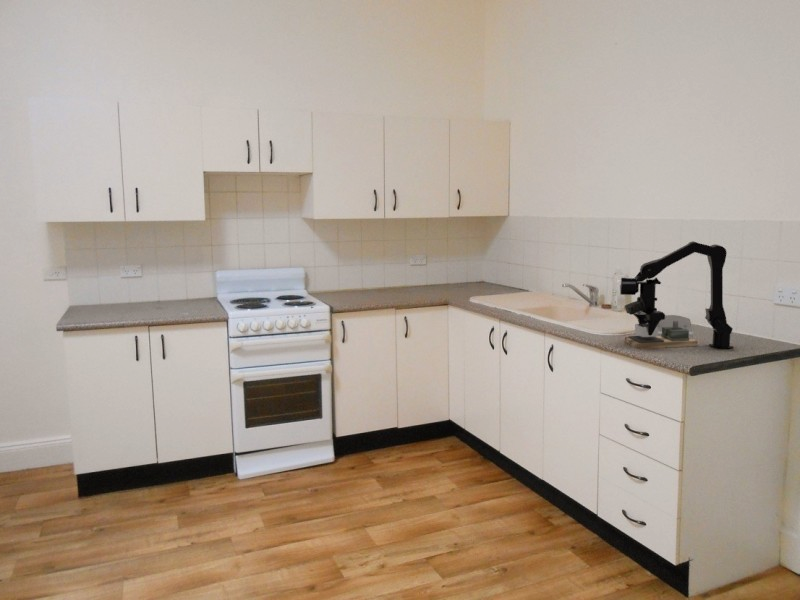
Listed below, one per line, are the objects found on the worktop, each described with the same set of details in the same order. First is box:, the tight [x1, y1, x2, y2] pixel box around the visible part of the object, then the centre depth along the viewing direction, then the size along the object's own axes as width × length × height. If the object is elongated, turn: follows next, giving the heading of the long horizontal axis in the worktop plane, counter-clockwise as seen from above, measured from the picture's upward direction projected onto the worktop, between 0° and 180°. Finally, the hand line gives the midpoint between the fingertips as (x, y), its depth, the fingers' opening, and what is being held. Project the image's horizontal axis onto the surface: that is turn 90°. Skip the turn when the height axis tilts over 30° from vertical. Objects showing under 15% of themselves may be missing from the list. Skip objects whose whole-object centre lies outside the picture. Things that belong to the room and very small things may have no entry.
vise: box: [624, 321, 698, 350], centre depth 256 cm, size 12×24×9 cm, turn 94°
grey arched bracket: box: [657, 314, 694, 339], centre depth 270 cm, size 17×5×10 cm, turn 79°
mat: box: [628, 335, 664, 343], centre depth 255 cm, size 10×10×1 cm
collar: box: [634, 323, 658, 337], centre depth 255 cm, size 6×6×4 cm
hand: (646, 333), depth 255 cm, fingers closed on collar, 6 cm apart
